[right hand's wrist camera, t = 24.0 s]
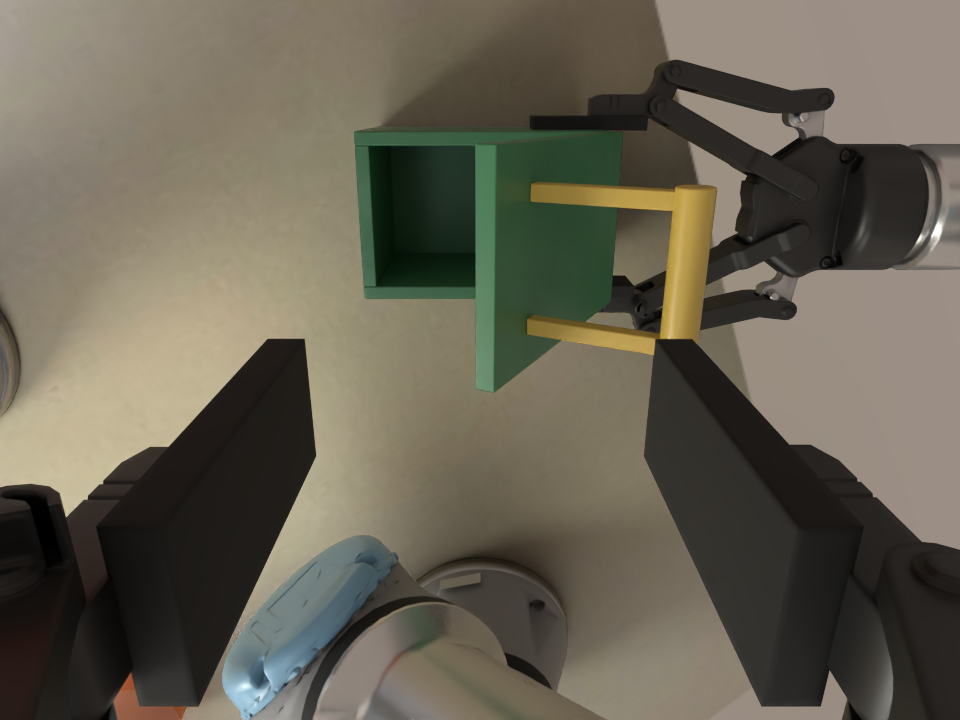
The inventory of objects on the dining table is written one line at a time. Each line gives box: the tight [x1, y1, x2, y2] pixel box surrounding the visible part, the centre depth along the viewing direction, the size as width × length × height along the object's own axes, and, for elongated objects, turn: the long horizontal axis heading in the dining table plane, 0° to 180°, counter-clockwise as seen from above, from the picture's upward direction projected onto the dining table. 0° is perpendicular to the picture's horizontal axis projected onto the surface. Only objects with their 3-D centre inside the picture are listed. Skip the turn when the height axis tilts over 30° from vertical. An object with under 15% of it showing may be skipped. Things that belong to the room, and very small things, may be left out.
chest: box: [354, 126, 612, 299], centre depth 42 cm, size 14×9×10 cm, turn 90°
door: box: [475, 132, 717, 393], centre depth 29 cm, size 15×9×8 cm
